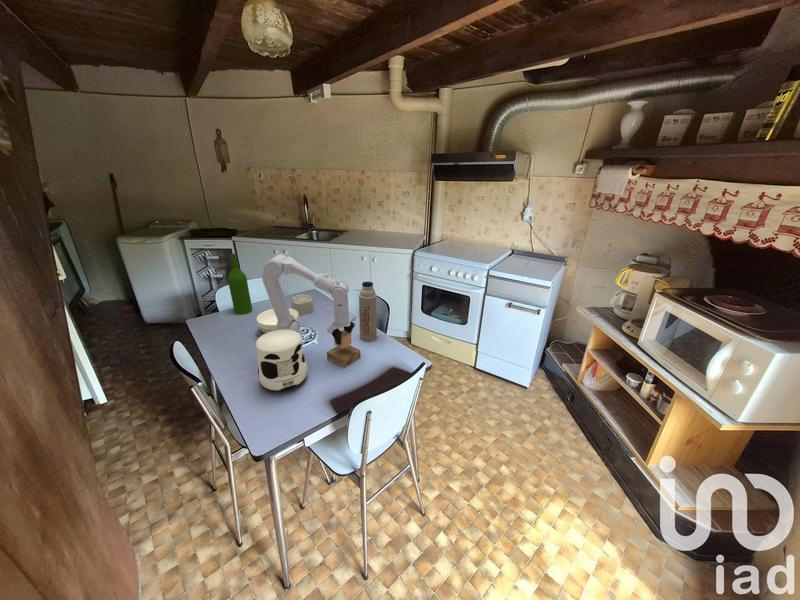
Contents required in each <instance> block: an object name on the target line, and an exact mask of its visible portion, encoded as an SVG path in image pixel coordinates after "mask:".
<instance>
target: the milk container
mask: <svg viewBox="0 0 800 600" xmlns="http://www.w3.org/2000/svg"><path fill="white" fill-rule="evenodd" d="M300 334H301V333H299V331H298V332H296V331H293V330H287V329H282V330H275V331H271V332H268V333H266V334H265V333H264V334H262V335H260V337H258V339H257V340H256V342H255V344H256V346H255V347H256V356H257V360H258V369H257V375H258V379H259V381H260V384H261V385H262V386H263V387H264V389H267V390H270V391H277V392H278V391H279V392H280V391H287V390H289V389H294V388H295V387H297V386H299V385H300V384H301V383H302V382H303V381H304V380H305V378H306V377H307V375H308V364H307V361H306V358H305V355H304V356H303V353H304V351H303V350H304V348H303V347H304V346H303V341H302V337H301V335H300Z"/></svg>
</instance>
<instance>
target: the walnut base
mask: <svg viewBox="0 0 800 600" xmlns="http://www.w3.org/2000/svg"><path fill="white" fill-rule="evenodd" d="M326 359H327V360H328V361H330V362H331V363H333V364H336V365H337V366H339V367H341V368H342V369H344V368H347V367H348V366H349V365H352V363H354V362H356V361H357V360H359V359H361V349H359V348H356V347H355V346H352V345H351V344H350V345H348V346H347V347H345V348H344V349H343V348H341V347H338V346H335V347H333V348H331V349H329V350H328V351H326Z"/></svg>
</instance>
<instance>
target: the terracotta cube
mask: <svg viewBox="0 0 800 600" xmlns="http://www.w3.org/2000/svg"><path fill="white" fill-rule="evenodd" d="M340 331H342V335H341V344H340V345H338V344H336V342H335V339H334V338H333V340H334V341H333V342H334V345H335V347H337V346H338V347H341V348H343V349H344V348H345V347H347V346H348V345H350V346H351V345H352V344H353V343H352V342H353V341H352V332H351V333H349V332H347V331H344V329H341V330H340Z"/></svg>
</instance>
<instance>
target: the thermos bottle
mask: <svg viewBox="0 0 800 600" xmlns="http://www.w3.org/2000/svg"><path fill="white" fill-rule="evenodd" d="M359 290H360V291H359V294H358V310H359V338H360V340H362V341H364V342H373V341H375V340H376V339H377V293H376V290H375V288H374V283H373V282H372V281H363V282H362V284H361V289H359Z"/></svg>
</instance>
